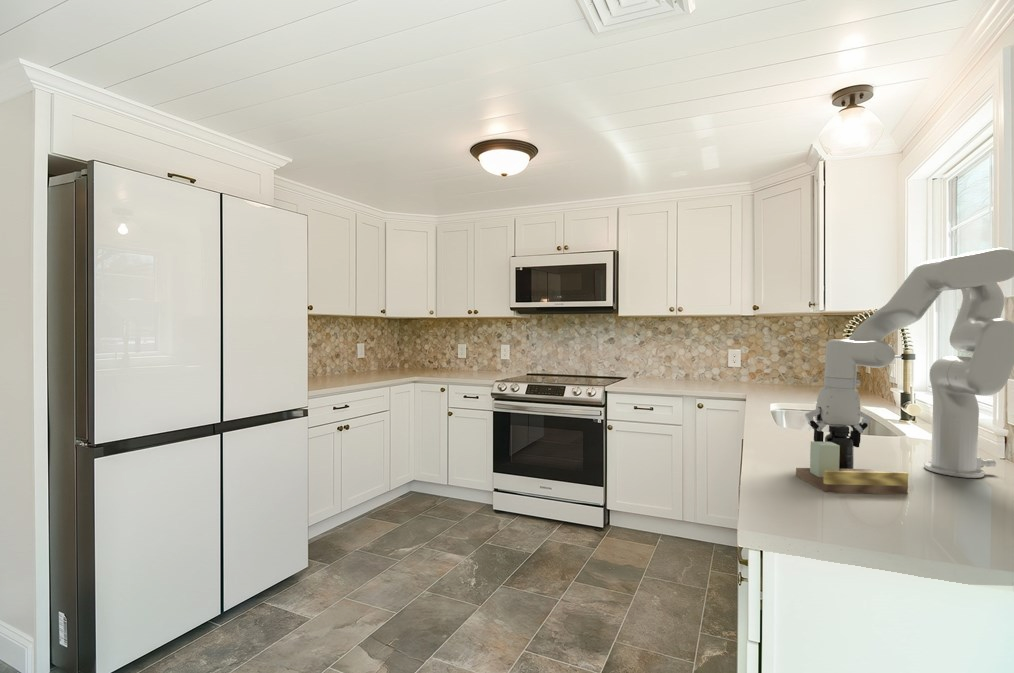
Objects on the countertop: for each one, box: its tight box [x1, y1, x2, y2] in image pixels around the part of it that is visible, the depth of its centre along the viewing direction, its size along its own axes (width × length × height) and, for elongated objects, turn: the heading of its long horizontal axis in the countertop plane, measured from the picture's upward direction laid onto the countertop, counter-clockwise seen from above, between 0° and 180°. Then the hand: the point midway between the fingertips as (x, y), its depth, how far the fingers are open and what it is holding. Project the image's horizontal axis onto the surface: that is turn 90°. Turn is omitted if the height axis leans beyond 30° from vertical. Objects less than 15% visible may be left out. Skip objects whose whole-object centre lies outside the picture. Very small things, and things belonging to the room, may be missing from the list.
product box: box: [809, 441, 840, 477], centre depth 133 cm, size 5×4×8 cm
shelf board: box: [795, 467, 909, 495], centre depth 132 cm, size 19×14×5 cm
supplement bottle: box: [824, 425, 855, 469], centre depth 145 cm, size 7×7×12 cm
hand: (836, 445), depth 145 cm, fingers open, 9 cm apart
